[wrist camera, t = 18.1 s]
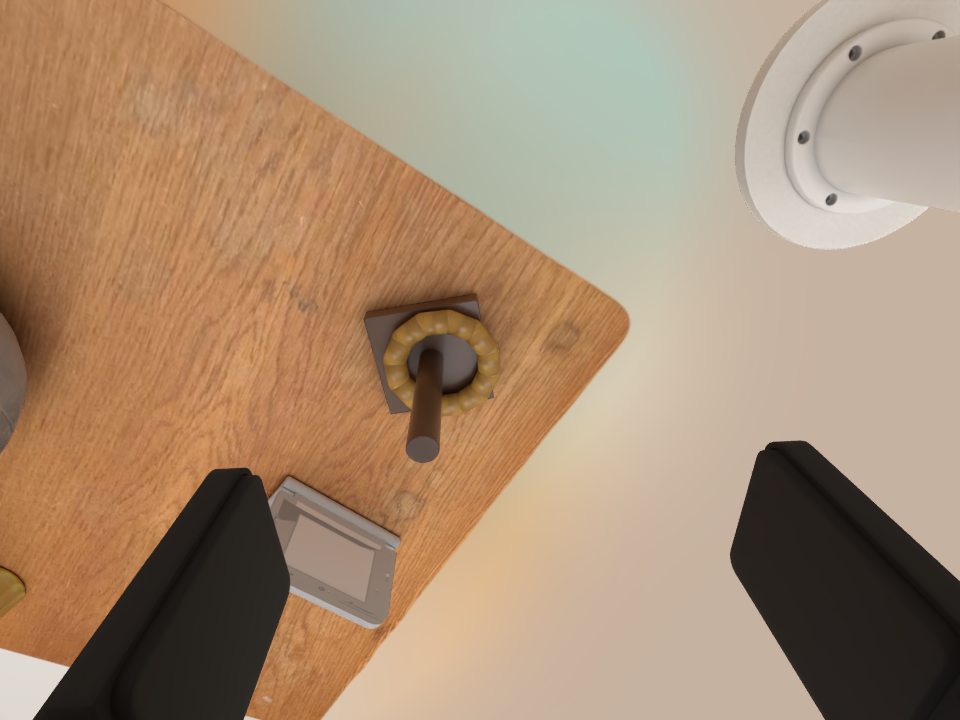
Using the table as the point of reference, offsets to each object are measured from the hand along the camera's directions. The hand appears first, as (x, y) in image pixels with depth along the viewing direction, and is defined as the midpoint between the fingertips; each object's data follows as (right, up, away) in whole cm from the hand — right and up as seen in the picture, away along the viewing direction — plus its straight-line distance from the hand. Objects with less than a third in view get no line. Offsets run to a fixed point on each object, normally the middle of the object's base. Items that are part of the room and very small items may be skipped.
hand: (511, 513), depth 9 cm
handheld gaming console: (-17, -15, +40) cm, 46 cm away
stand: (-5, +4, +31) cm, 32 cm away
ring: (-4, +3, +29) cm, 30 cm away
